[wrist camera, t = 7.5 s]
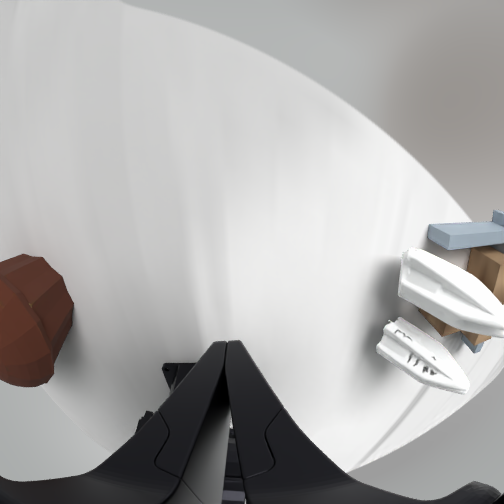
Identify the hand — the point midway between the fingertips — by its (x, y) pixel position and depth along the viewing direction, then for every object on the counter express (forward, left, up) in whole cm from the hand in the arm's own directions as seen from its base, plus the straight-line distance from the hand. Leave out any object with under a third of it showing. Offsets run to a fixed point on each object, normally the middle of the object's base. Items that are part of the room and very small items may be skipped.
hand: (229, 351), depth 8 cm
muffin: (-4, +20, -12) cm, 24 cm away
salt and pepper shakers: (-7, -12, -11) cm, 18 cm away
